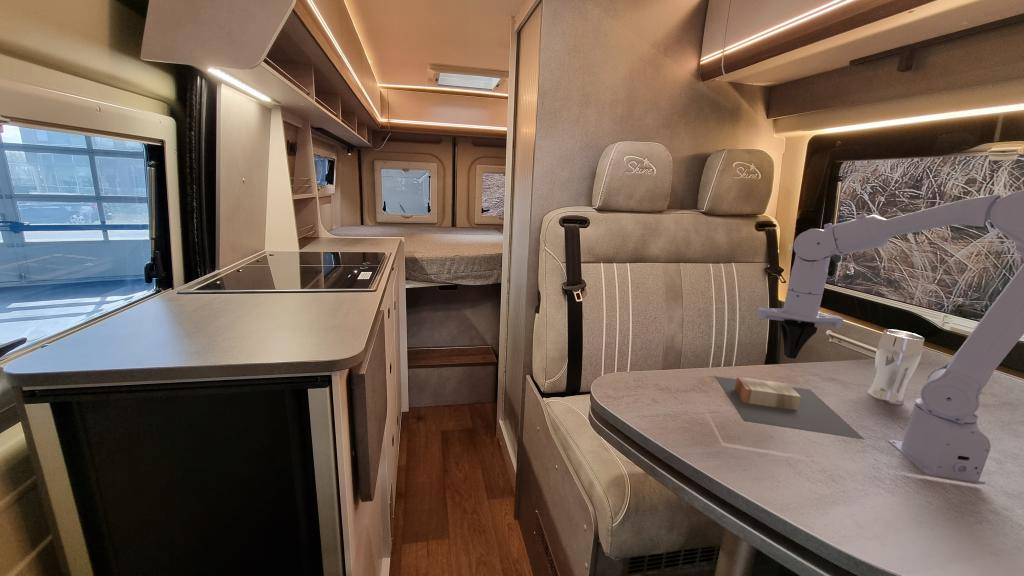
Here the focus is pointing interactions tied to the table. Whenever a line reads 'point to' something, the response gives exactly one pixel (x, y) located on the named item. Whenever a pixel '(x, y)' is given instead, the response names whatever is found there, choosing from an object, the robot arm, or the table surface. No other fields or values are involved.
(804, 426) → the rubber mat
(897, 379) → the beer glass
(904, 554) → the table surface
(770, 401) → the birch block
